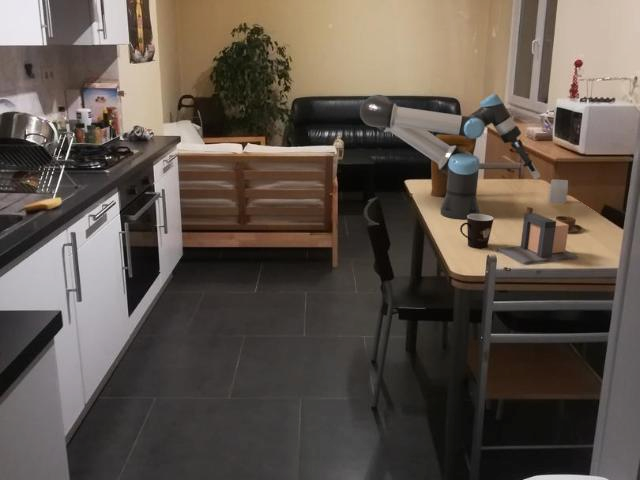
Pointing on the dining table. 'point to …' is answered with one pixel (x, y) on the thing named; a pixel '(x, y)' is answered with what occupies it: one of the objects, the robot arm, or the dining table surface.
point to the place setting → (563, 221)
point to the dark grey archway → (545, 233)
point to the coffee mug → (478, 230)
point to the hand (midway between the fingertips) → (535, 174)
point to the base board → (534, 255)
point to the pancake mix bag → (437, 175)
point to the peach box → (559, 237)
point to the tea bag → (558, 191)
